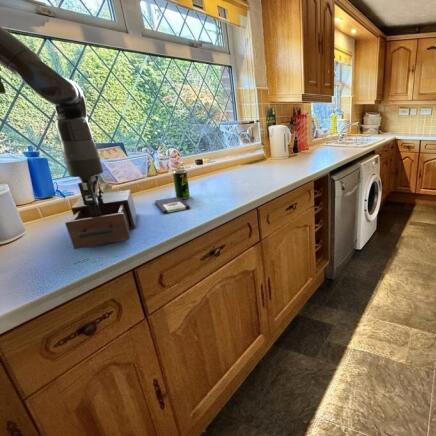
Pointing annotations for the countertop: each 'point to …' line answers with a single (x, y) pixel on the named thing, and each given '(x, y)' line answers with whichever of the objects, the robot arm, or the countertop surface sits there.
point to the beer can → (181, 183)
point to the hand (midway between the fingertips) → (99, 214)
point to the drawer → (99, 226)
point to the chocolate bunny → (107, 188)
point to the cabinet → (114, 199)
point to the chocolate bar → (171, 204)
